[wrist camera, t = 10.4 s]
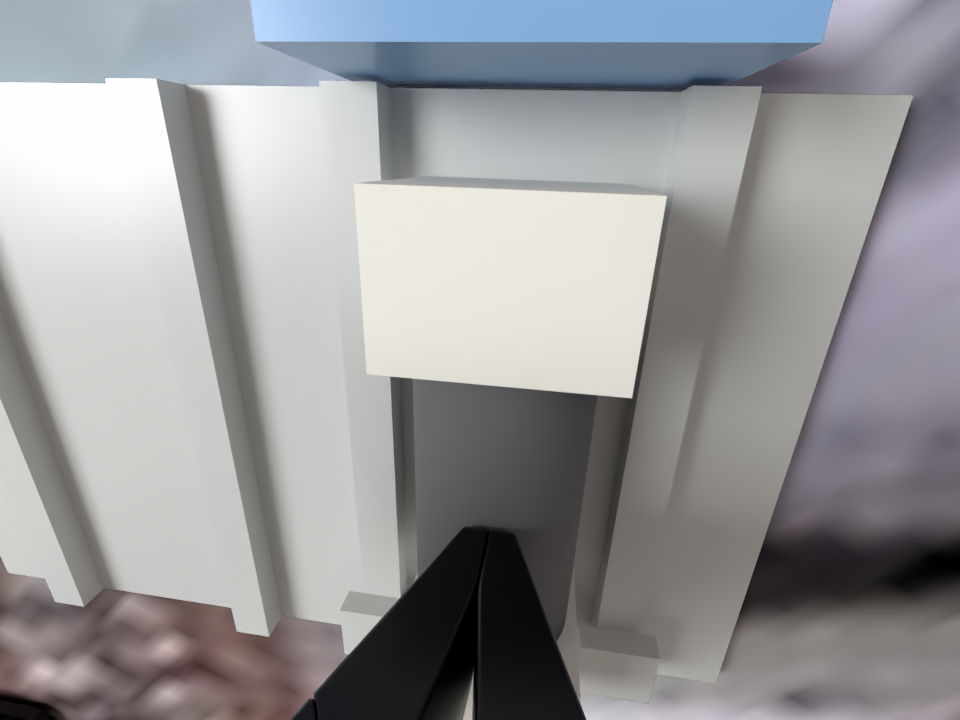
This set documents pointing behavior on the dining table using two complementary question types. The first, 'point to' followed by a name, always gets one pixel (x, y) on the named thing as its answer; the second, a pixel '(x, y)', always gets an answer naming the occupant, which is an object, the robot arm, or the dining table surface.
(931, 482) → the dining table surface
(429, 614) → the robot arm
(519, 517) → the cream and grey dumbbell
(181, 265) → the white ribbed plate
